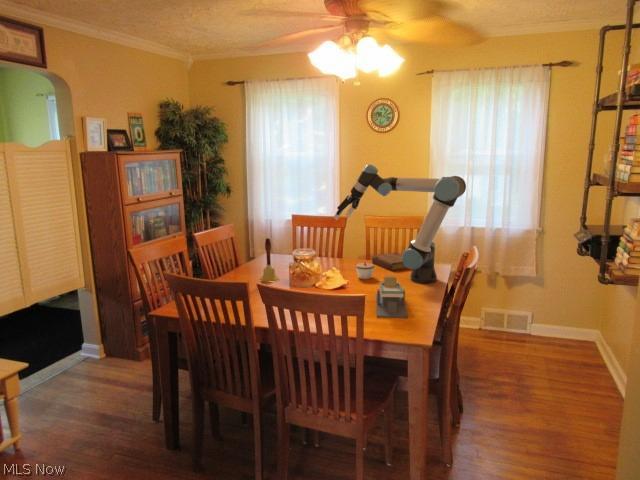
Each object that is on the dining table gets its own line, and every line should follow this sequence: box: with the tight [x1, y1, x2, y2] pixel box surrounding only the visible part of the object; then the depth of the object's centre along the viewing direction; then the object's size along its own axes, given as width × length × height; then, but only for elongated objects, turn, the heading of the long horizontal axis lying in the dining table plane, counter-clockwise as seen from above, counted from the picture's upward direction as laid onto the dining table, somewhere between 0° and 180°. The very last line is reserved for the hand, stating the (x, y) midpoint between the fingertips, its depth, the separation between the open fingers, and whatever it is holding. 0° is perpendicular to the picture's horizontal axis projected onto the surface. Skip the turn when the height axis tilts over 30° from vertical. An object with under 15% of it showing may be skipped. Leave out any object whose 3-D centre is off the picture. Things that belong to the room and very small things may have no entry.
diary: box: [371, 252, 410, 272], centre depth 300 cm, size 23×19×6 cm
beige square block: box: [383, 275, 398, 287], centre depth 232 cm, size 6×6×5 cm
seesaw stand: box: [375, 288, 409, 319], centre depth 224 cm, size 14×32×8 cm, turn 174°
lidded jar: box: [355, 262, 375, 280], centre depth 273 cm, size 11×11×9 cm
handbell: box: [258, 237, 280, 282], centre depth 272 cm, size 12×12×25 cm
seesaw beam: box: [379, 282, 404, 297], centre depth 223 cm, size 10×28×3 cm, turn 174°
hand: (341, 217), depth 275 cm, fingers open, 13 cm apart
